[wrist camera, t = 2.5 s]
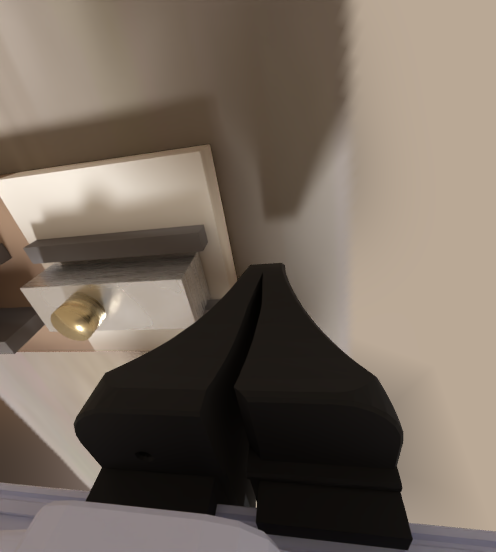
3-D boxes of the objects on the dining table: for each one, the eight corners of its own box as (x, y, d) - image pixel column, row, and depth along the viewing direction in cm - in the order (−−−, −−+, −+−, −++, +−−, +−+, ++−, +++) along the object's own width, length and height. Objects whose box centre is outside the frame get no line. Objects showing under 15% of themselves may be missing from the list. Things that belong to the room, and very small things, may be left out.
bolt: (210, 295, 13) (189, 347, 11) (79, 301, 15) (33, 348, 12) (197, 250, 12) (171, 296, 10) (56, 261, 13) (-1, 303, 11)
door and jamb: (247, 330, 17) (236, 393, 13) (29, 334, 19) (-26, 387, 16) (209, 144, 11) (174, 169, 8) (-83, 187, 14) (-201, 219, 11)
